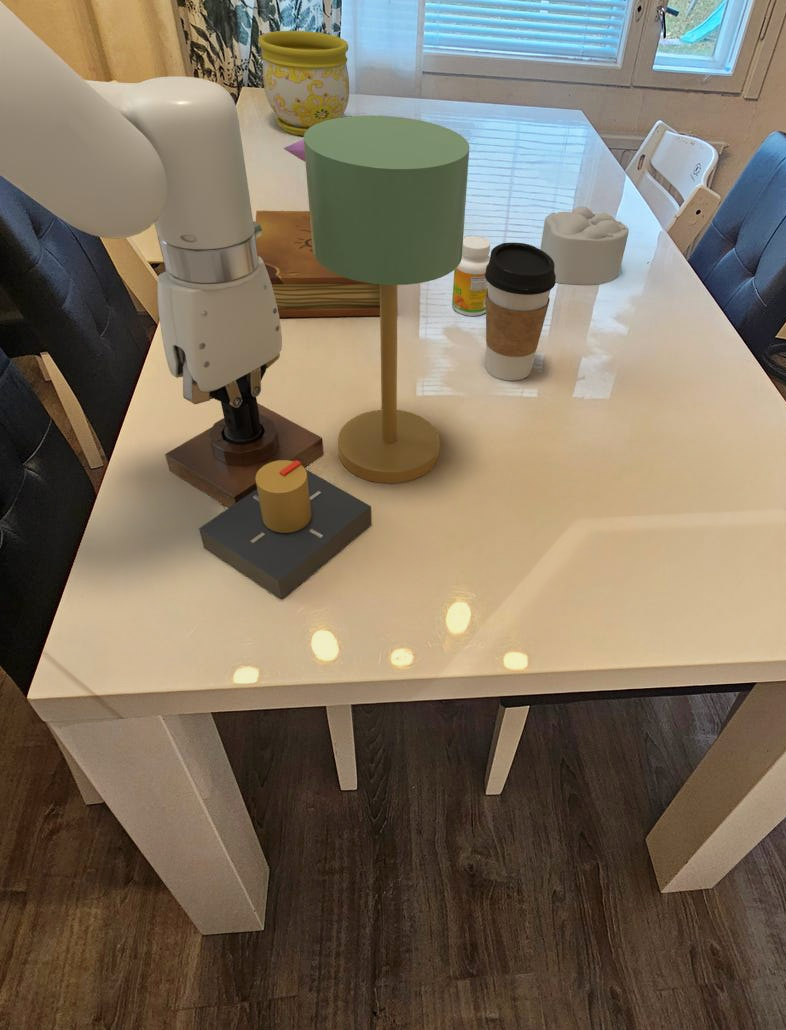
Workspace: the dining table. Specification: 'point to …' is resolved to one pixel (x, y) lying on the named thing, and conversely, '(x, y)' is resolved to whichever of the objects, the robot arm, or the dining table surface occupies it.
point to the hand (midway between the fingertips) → (244, 428)
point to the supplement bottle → (471, 277)
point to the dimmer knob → (284, 496)
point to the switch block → (241, 456)
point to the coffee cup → (516, 307)
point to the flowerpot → (304, 77)
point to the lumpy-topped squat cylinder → (584, 246)
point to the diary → (307, 272)
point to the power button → (240, 437)
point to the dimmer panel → (286, 537)
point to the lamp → (387, 253)
